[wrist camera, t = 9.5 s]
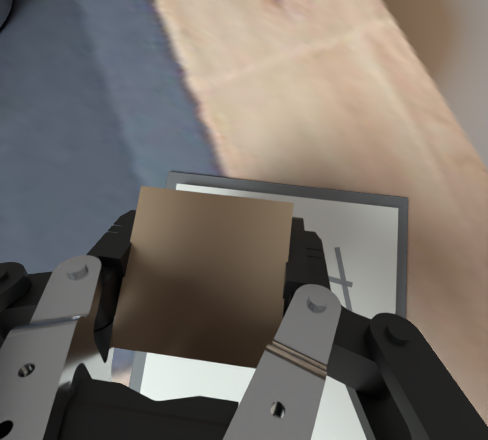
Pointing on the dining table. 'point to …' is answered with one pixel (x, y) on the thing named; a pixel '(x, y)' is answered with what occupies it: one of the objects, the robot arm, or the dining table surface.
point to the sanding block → (204, 276)
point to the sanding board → (340, 277)
